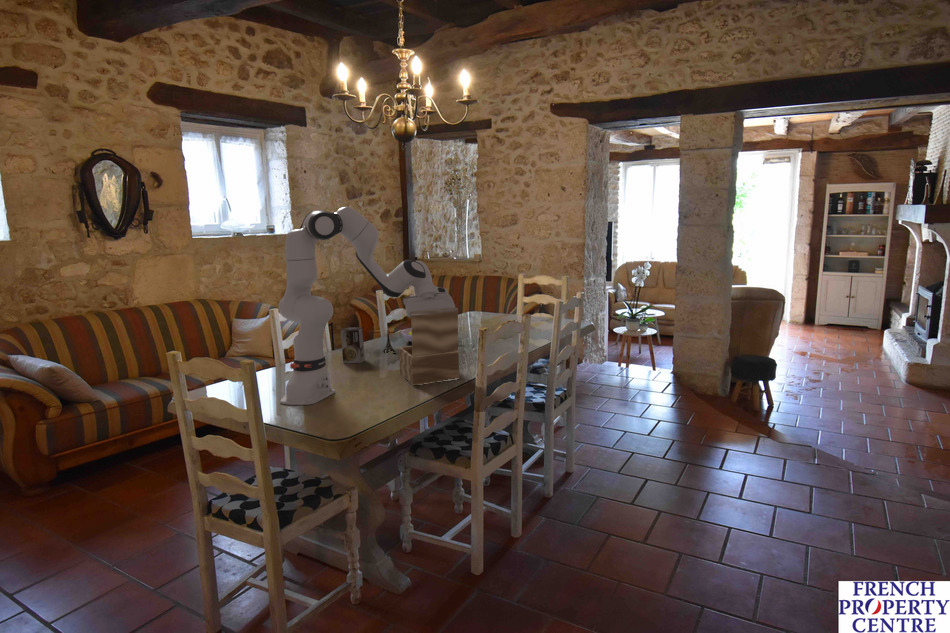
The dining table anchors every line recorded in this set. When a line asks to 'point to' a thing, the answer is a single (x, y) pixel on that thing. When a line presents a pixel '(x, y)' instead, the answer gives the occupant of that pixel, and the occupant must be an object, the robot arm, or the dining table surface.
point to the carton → (428, 366)
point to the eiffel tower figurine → (388, 344)
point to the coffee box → (352, 345)
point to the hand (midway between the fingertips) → (434, 322)
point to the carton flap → (434, 331)
